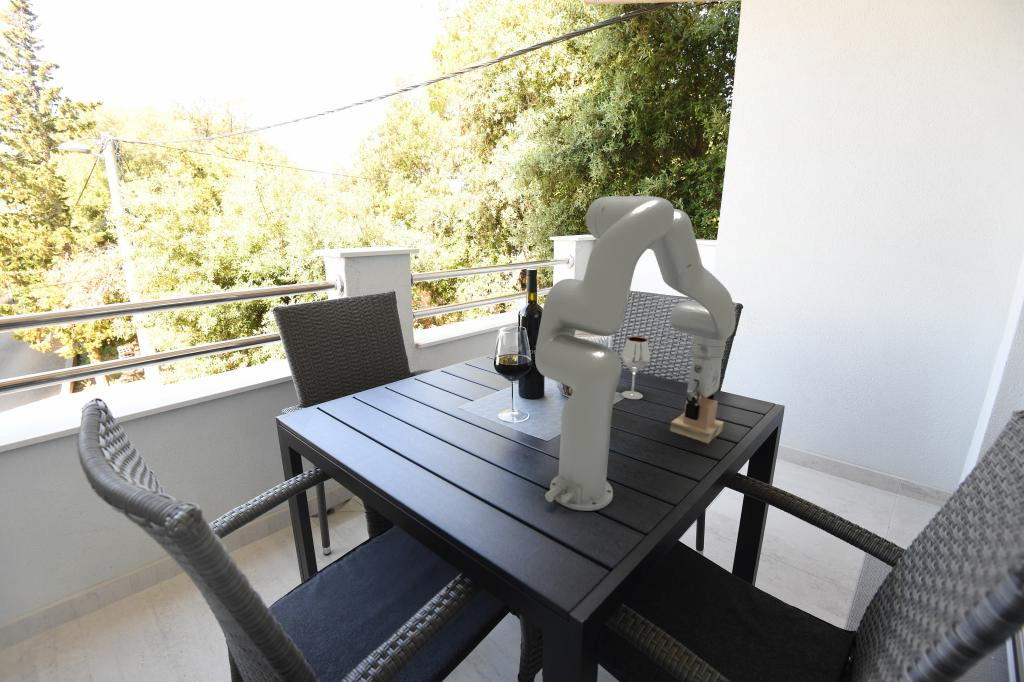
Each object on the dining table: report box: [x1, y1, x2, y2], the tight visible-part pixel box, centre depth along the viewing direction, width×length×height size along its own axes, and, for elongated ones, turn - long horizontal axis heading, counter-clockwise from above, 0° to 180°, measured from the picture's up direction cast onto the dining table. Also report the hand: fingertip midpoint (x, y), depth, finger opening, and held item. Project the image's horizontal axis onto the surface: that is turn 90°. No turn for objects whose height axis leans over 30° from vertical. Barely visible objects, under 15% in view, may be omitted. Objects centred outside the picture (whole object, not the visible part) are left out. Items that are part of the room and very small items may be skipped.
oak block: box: [669, 412, 725, 444], centre depth 126 cm, size 10×10×3 cm
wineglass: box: [621, 336, 651, 400], centre depth 147 cm, size 8×8×18 cm
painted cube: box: [683, 396, 719, 430], centre depth 125 cm, size 6×6×6 cm
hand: (698, 412), depth 125 cm, fingers open, 9 cm apart
